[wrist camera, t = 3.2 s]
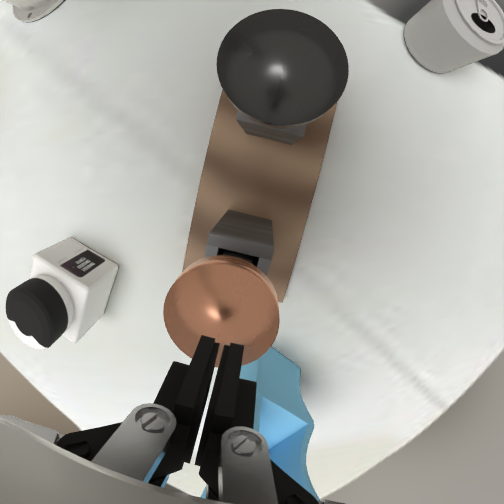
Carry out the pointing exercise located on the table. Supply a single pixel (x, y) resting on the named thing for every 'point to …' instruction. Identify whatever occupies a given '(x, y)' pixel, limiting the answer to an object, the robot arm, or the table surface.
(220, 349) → the plunger terracotta
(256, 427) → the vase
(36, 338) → the container
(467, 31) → the can
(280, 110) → the plunger black
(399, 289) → the table surface
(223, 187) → the stand
